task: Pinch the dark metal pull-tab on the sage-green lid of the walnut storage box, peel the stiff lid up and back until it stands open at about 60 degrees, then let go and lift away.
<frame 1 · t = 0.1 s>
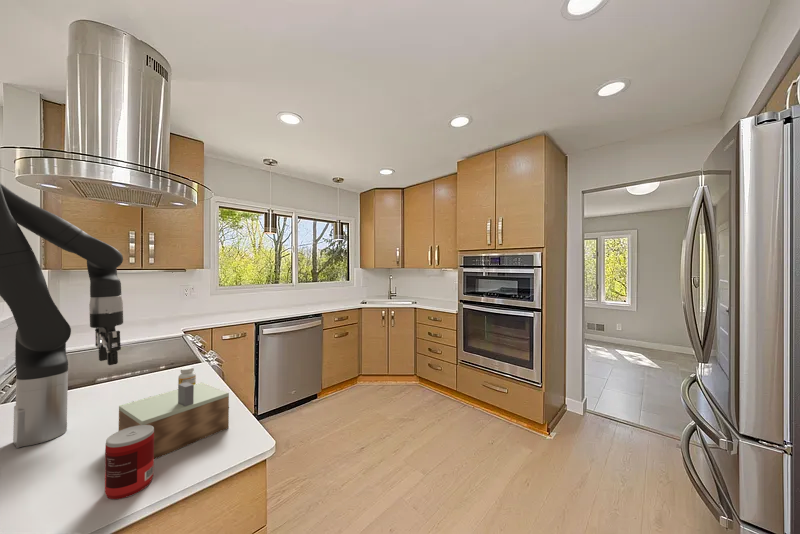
hand: (108, 362, 94), 17 cm above the counter, tool pointing down, fingers open, 8 cm apart
storage box: (176, 435, 83), on the counter
carton: (173, 413, 98), on the counter
supplement bottle: (187, 394, 113), on the counter
canned food: (130, 487, 63), on the counter
lid: (176, 391, 83), point 12 cm above the counter, hinge at 0.0°
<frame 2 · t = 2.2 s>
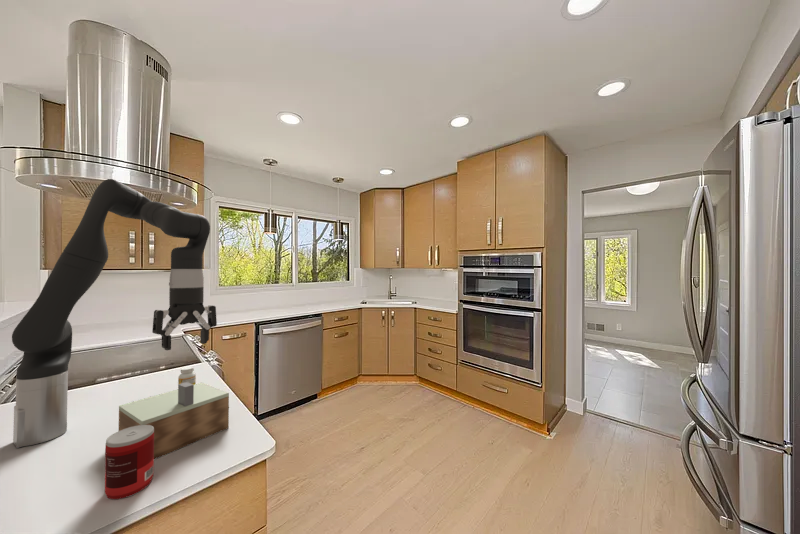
hand: (186, 346, 81), 25 cm above the counter, tool pointing down, fingers open, 8 cm apart
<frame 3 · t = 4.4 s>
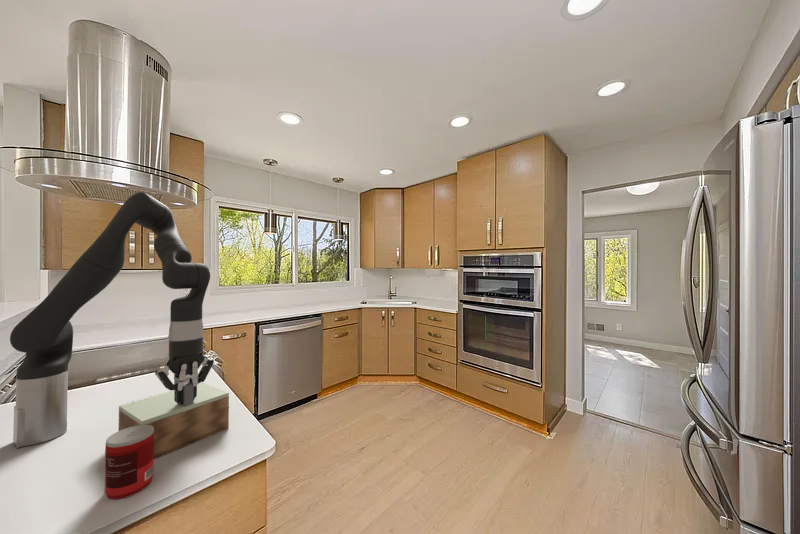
hand: (185, 401, 80), 11 cm above the counter, tool pointing down, fingers closed on lid, 2 cm apart
lid: (176, 391, 83), point 12 cm above the counter, hinge at 0.0°, touching gripper
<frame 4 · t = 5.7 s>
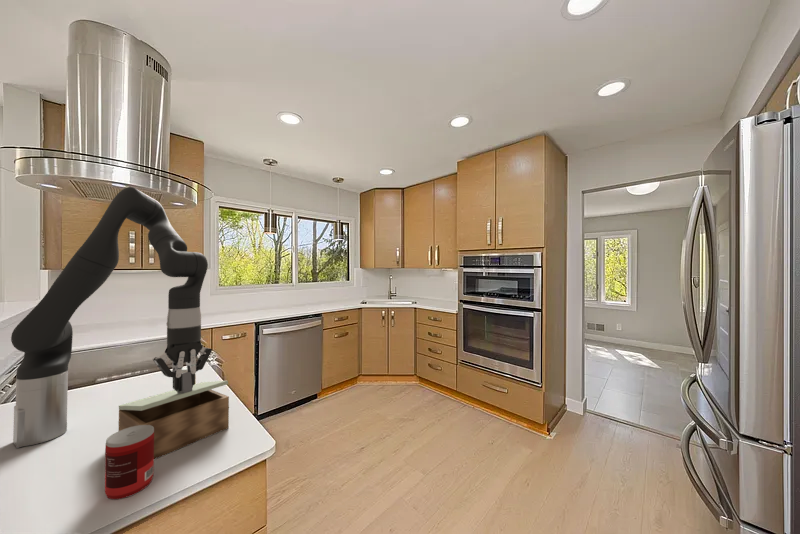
hand: (184, 389, 81), 14 cm above the counter, tool pointing down, fingers closed on lid, 2 cm apart
lid: (175, 385, 84), point 14 cm above the counter, hinge at 12.3°, touching gripper
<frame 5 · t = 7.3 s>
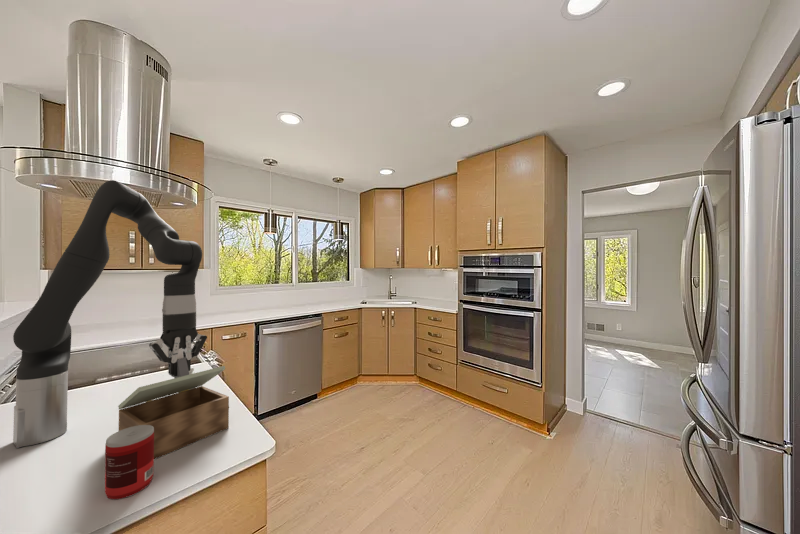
hand: (179, 374, 82), 17 cm above the counter, tool pointing down, fingers closed on lid, 2 cm apart
lid: (173, 377, 85), point 16 cm above the counter, hinge at 28.2°, touching gripper
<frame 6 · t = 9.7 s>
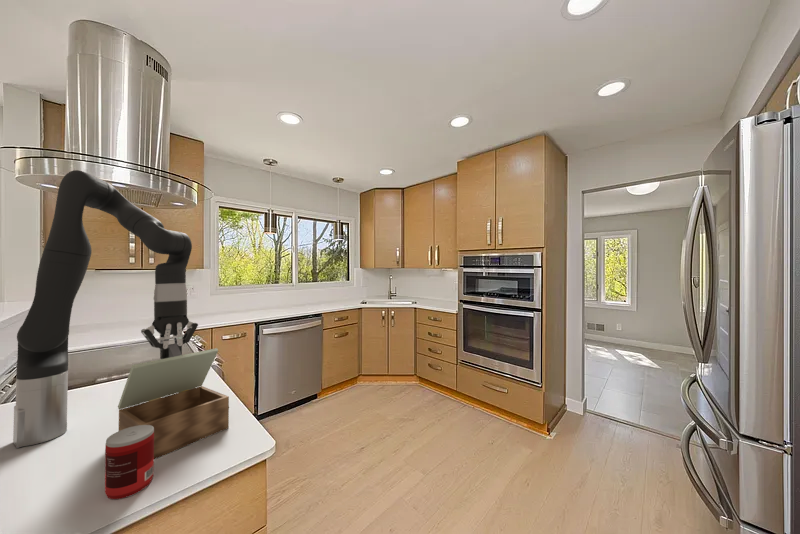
hand: (171, 360, 85), 20 cm above the counter, tool pointing down, fingers closed on lid, 2 cm apart
lid: (168, 370, 86), point 17 cm above the counter, hinge at 51.2°, touching gripper
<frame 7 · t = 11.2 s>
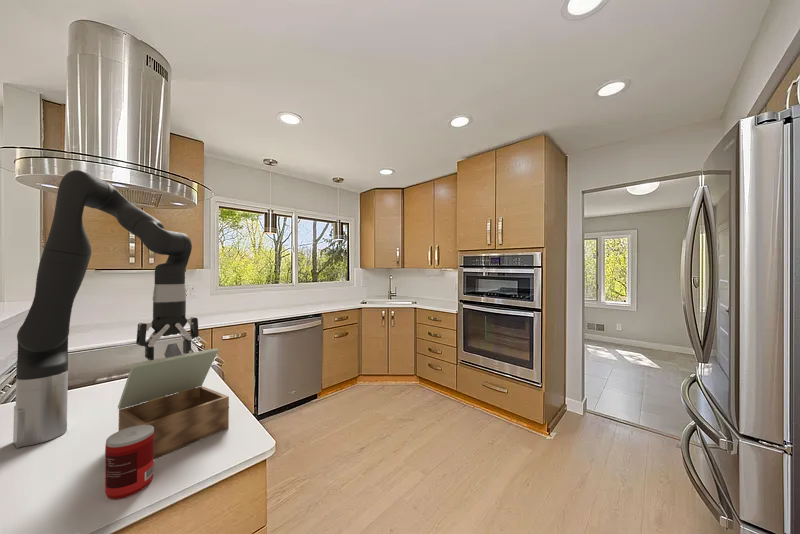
hand: (169, 356, 86), 21 cm above the counter, tool pointing down, fingers open, 8 cm apart
lid: (168, 369, 86), point 17 cm above the counter, hinge at 51.6°
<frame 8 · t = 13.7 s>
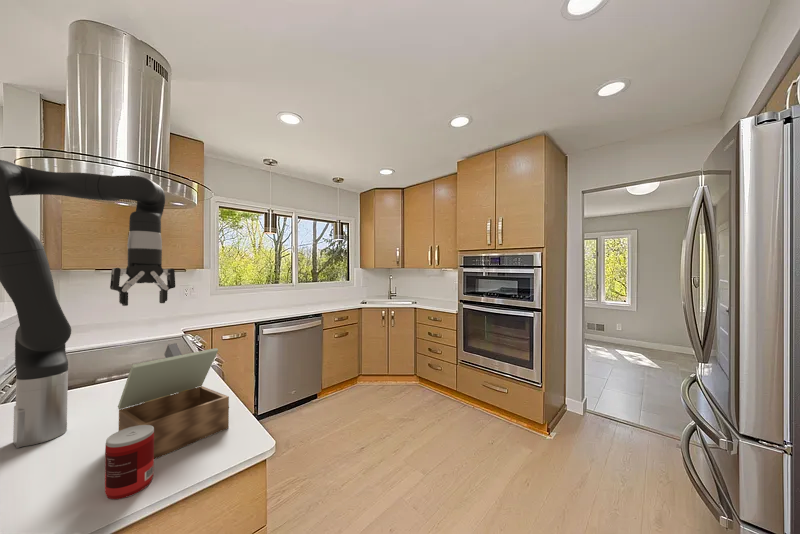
hand: (144, 304, 86), 36 cm above the counter, tool pointing down, fingers open, 8 cm apart
at the end: lid at +52° (first picture: +0°); the gripper is holding nothing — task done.
